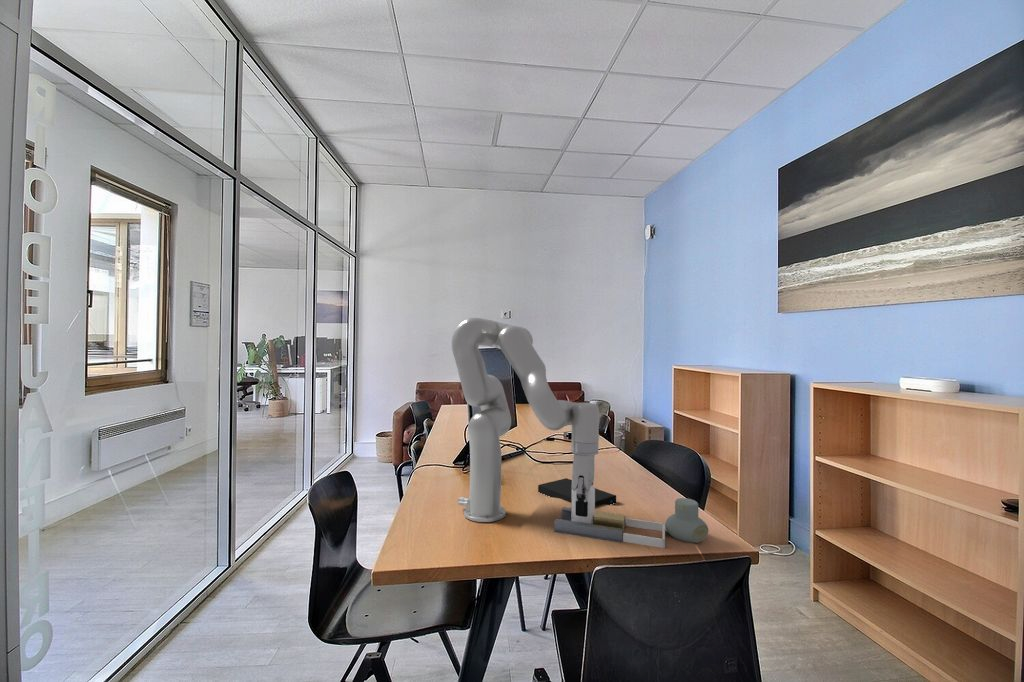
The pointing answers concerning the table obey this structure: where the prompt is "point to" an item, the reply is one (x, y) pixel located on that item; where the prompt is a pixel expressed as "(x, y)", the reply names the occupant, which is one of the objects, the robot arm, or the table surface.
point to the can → (591, 506)
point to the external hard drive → (564, 492)
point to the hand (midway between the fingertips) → (583, 510)
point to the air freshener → (686, 522)
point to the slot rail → (587, 528)
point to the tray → (645, 539)
